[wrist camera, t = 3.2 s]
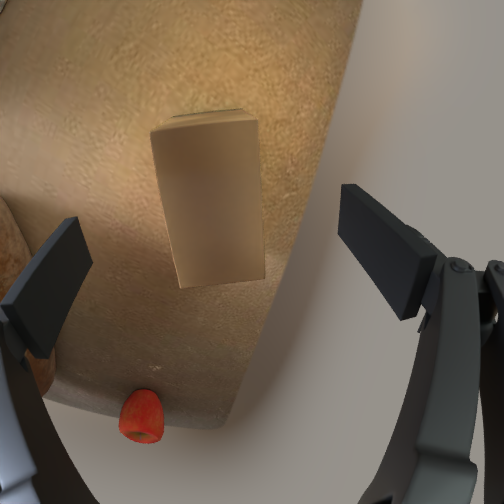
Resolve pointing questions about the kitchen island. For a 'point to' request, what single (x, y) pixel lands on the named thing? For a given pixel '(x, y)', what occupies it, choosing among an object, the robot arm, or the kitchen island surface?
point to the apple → (142, 417)
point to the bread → (3, 277)
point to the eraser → (211, 195)
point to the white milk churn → (2, 4)
